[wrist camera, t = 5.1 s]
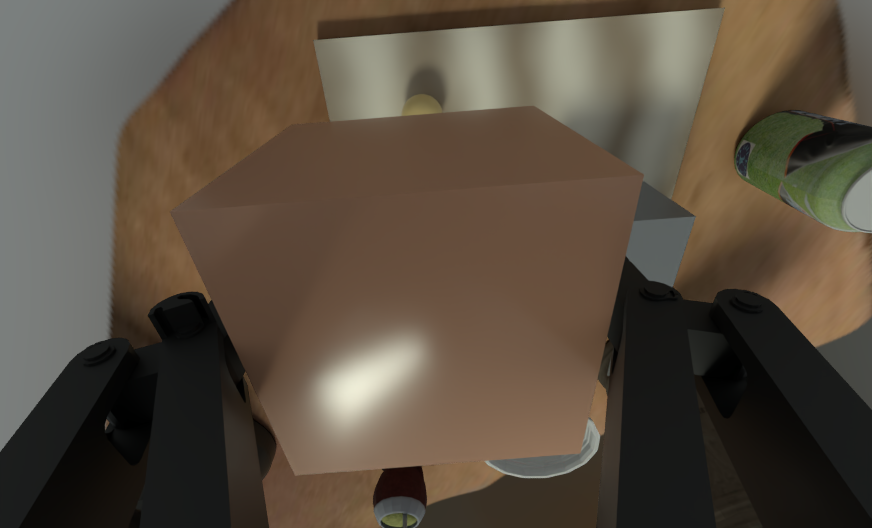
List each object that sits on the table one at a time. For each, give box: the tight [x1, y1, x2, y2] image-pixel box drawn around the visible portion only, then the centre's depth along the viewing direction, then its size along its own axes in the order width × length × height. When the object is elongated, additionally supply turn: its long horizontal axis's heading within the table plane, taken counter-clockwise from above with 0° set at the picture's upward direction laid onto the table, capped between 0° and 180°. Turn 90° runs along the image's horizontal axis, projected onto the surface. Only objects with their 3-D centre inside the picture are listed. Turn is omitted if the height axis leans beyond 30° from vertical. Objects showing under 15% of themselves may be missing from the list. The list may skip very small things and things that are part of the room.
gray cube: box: [626, 181, 696, 287], centre depth 31 cm, size 9×9×8 cm
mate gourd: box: [373, 466, 427, 528], centre depth 48 cm, size 8×8×15 cm
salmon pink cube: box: [170, 106, 644, 475], centre depth 13 cm, size 9×9×8 cm
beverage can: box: [734, 110, 872, 233], centre depth 27 cm, size 6×7×12 cm
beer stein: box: [598, 341, 763, 528], centre depth 38 cm, size 15×11×20 cm
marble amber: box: [401, 94, 443, 116], centre depth 27 cm, size 3×3×3 cm
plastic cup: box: [485, 417, 600, 478], centre depth 38 cm, size 11×11×12 cm
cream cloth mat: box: [313, 8, 725, 199], centre depth 31 cm, size 28×20×1 cm
